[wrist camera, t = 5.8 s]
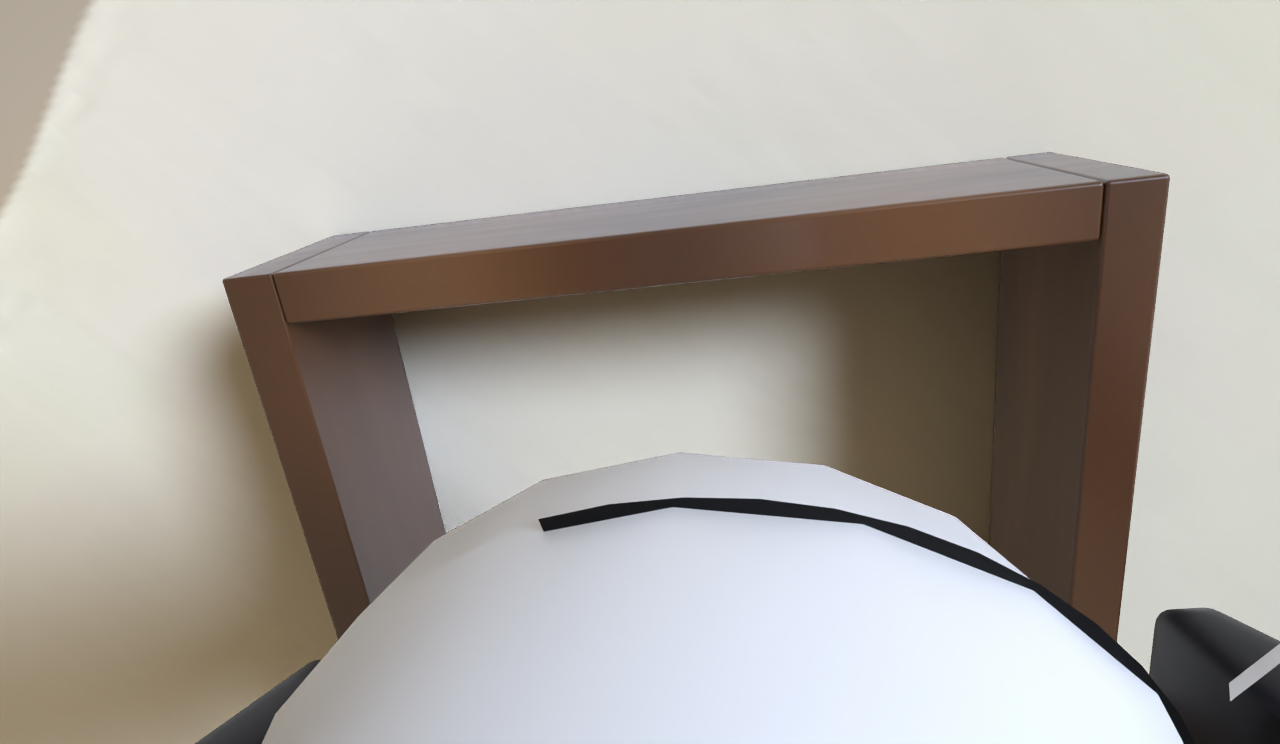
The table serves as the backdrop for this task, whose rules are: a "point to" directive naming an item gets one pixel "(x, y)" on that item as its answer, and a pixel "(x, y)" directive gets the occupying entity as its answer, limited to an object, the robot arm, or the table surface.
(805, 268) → the crate
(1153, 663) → the robot arm
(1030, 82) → the table surface
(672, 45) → the table surface
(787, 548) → the seamed sphere
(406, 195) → the table surface
